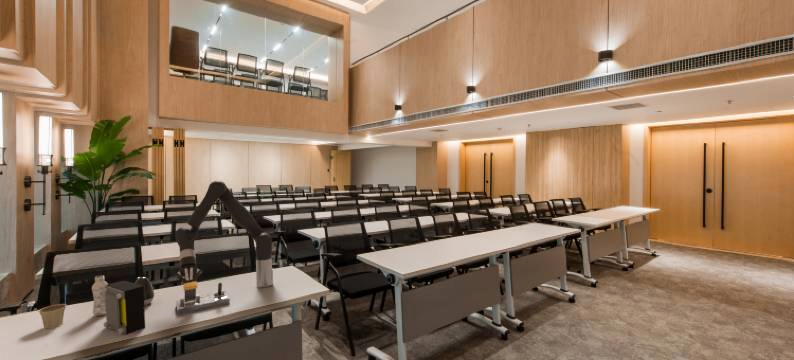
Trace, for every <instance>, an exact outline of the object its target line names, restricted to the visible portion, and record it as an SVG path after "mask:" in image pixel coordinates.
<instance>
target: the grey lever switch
mask: <svg viewBox="0 0 794 360" xmlns="http://www.w3.org/2000/svg"><path fill="white" fill-rule="evenodd" d="M222 289H223V283H222V282H218V283H217V292H213V293H208V294H204V295H203V294H202V295H200V294H199V293H196V300H195V301H190V302H185V296H181V297H179V299H178V300H176V303H175V304H176V312H177V316H180V315H184V314H185V315H186V314H191V313H194V312H199V311H203V310H207V309H213V308H217V307H221V306H227V305H229V304H230V302H231V301H230V300H231V299H230V297H229V295H228V293H227V291H226V290H222Z"/></svg>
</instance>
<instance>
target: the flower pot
mask: <svg viewBox="0 0 794 360" xmlns="http://www.w3.org/2000/svg"><path fill="white" fill-rule="evenodd" d="M66 308H67V304H66V303H61V304H59V303H58V304H54V305H53V304H52V305H49V306H46V307H43V308H40V309H39V310H38V313H39V314H40V316H41V321H42V325H43V328H44V329H47V328H48V329H53V327H54V328H56V327H59V325H60V326H62V325H63V324H64V315H65V310H66ZM61 324H62V325H61Z"/></svg>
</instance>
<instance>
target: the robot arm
mask: <svg viewBox="0 0 794 360" xmlns="http://www.w3.org/2000/svg"><path fill="white" fill-rule="evenodd" d="M218 200H219V201H220V202H221V203H222V204H223V205H224V206H225V209H226V211H227V212H228V213H229V215H230V216H231V218H233V220H234V221H235V222H236V223H237V224H238V225H239V226H240V227H241V228H242V229H244V231H246V232H248V233H249V235H250V237H251V238H252V239H253V241H254V242H255V266H256V267H255V271H256V272H255V273H256V274H255V276H256V287H257V288H262V287H263V288H267V287H271V286H273V285H274V270H273V266H272V265H273V264H272V263H273V262H272V258H273V257H272V255H273V254H272V253H273V241H272V237H271V236H270V234H269V233H268V232H266V231H265V230H264V229H263V228H262V227H261V226H260V225H259V224H258V223H257V220H256V219H255V218H254V216H253V215H252V214H251V212H250V211H249V210H248V209H247V207H245V206H244V205H243V203H242V202H240V201H239V199H237V198H236V196H235V195H234V194H233V193H232V192H231V190H230V189H229V188H228V186H227V185H226V183H225V182H224V181H222V180H219V179H218V180H214V181H212V182H210V184H209V185H208V188H207V191H206V193H205V195H204V197H203V198H202V200H201V202H200V203H199V204H198V206H197V207H196V208H195V209H194V211H193V212H192V214H191V215H190V216H189V218H188V220H187V222H186V223H187V225H189V226H190V227H191V228H187V227H179V228H178V229H177V230H176V231H175V235H174V236H175V240H176V243H177V245H178V247H179V271H178V272H175V274H174V277H175V278H176V279H178V281H180V282H181V283H190V282H195V281H197V279H198V278H199V276H200V275H201V274H202V273H203V269H202V268H198V266H197V258H196V251H195V244H194V242H193V241H194V240H196V238H197V236H198V234H199V233H198V232H199V229H200V226H201V225H202V223H203V222H204V221H205V219H206V217H207V216H208V214H209V213H210V211H211V209H212V207H213V206H214V205H215V203H216V202H217V201H218ZM270 285H271V286H270Z"/></svg>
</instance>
